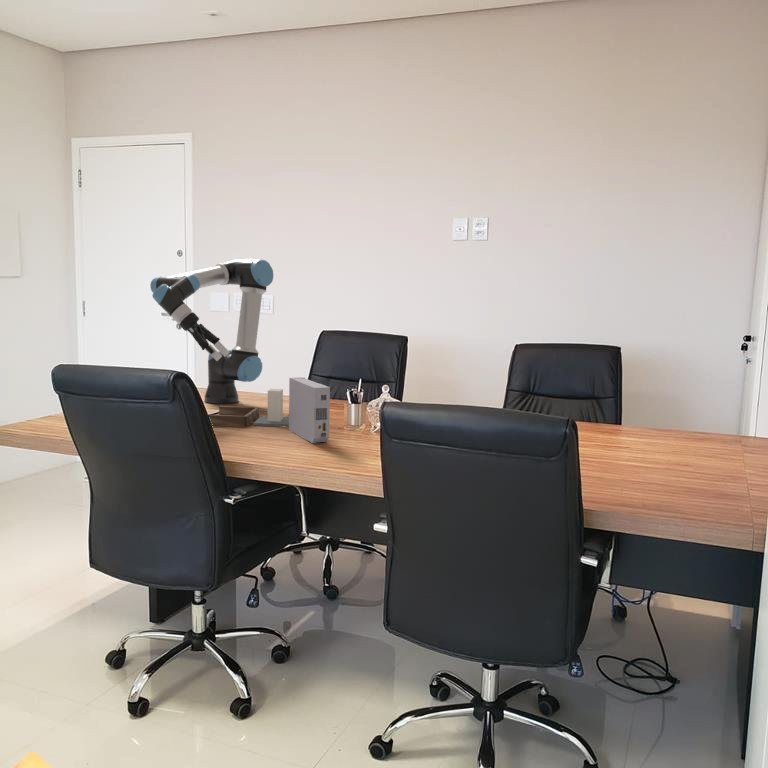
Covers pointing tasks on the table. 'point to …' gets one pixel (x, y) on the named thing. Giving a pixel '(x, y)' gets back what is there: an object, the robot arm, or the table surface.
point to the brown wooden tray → (235, 416)
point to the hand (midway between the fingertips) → (223, 356)
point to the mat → (271, 422)
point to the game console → (309, 409)
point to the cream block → (275, 405)
